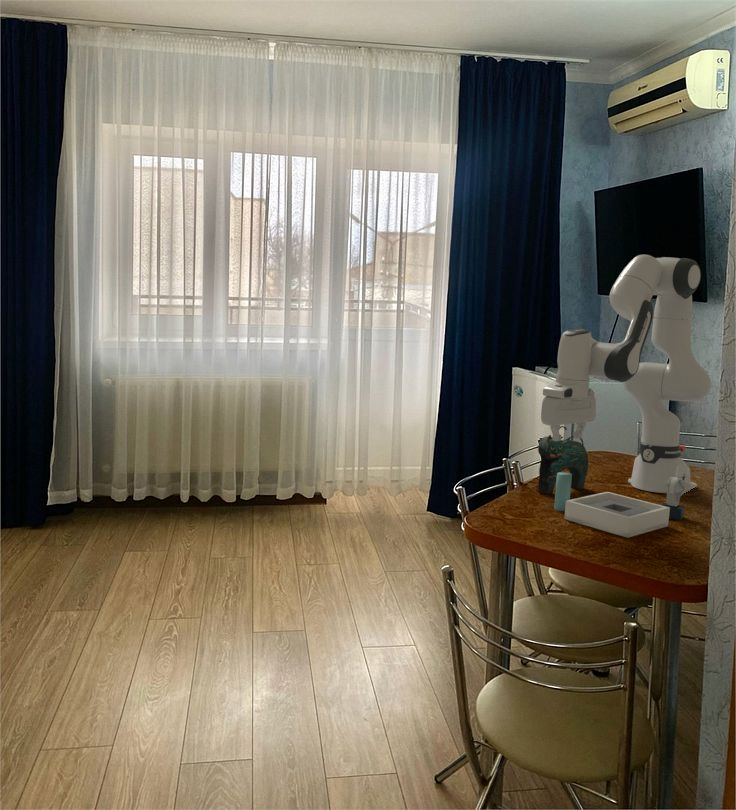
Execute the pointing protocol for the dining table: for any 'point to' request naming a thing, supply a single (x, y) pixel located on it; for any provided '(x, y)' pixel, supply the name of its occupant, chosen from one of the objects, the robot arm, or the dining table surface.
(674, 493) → the watch
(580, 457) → the ceramic cat
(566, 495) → the peg
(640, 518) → the open box
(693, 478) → the dining table surface
